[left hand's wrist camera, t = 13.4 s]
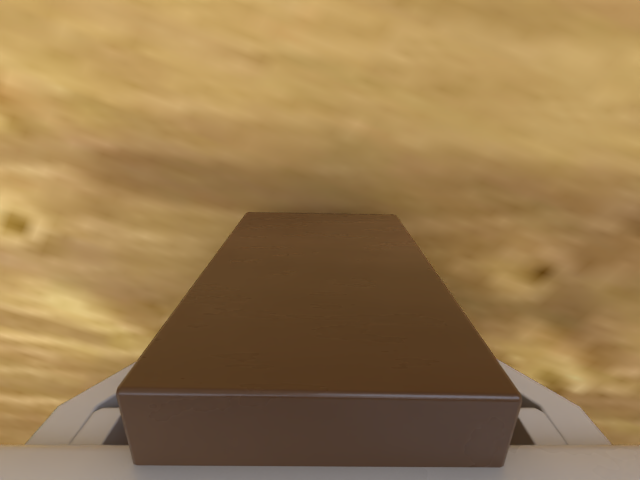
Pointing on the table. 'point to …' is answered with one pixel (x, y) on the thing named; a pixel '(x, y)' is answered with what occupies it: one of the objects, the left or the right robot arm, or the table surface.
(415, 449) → the bar
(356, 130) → the table surface
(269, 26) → the table surface
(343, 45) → the table surface
